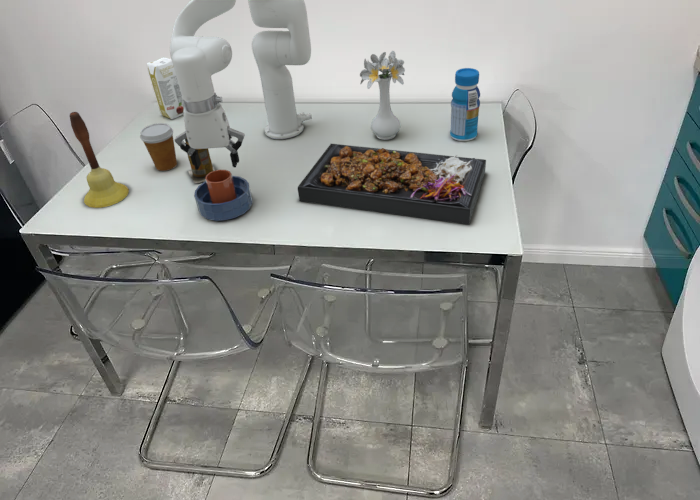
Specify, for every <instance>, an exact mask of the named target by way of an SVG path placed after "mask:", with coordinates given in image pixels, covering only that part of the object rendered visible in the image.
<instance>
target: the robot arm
mask: <svg viewBox="0 0 700 500" xmlns="http://www.w3.org/2000/svg"><path fill="white" fill-rule="evenodd" d="M236 2H237V0H189V1H188V3H187V4H185V6H184V7H183V8H182V9H181V10H180V11H179V13H178V15H177V16H176V18H175V20H174V23H173V26H172V28H173V29H172V32H171V36H170V42H169V43H170V44H169V55H170V59H172V62H173V66H174V70H175V73H176V77H177V81H178V84H179V88H180V91H181V95H182V98H183V102H184V106H185V108H184V114H183V122H184V129H185V131H183V132H182V133H180V134H178V135H177V136H175V138H174V143H175V144H177V146H178V147H179V148H180V150H182V151H183V152H185V153H186V155H187V154H188V155H189V156H190V158H191V161H192V164H193V165H194V166H195V169H196V170H198V169H199V167H200V165H201V162H200V158H199V154H198V151H197V150H195V149H207V148H208V149H221V148H222V149H223V148H225V149H227V150H228V151H229V152H230V153H229V157H230V161H231V165H232V168H234V169H235V168H237V166H238V164H239V163H240V156H239V153H238V150H239V149H240V148H241V147H242V145H243V142H244V139H245V136H246V134H245V133H244V132H242V131H239V130H237V129H235V128H232V127H231V125H230V122H229V120H228V117H227V114H226V112H225V110H224V107H223V105H222V104H221V103H223V97H222V96H219V95H217V92H215V88H214V83H213V80H212V76H213V75H215V74H217V73H220V72H221V71H223V70H226V68H227V67H229V65H230V63H231V61H232V58H233V49H232V46H231V44H230V43H229V41H227V40H226V39H225V38H223V37H219V36H203V35H202V36H200V35H198V36H197V35H195V34H196V33H197V31H198V30H200V28H201V27H202V26H204V24H206V23H208V22H209V21H211V20H213V19H215V18H217V17H220V16H221V15H223V14H225V13H227V12H229V11H231V9H233V8H234V7H235V5H236ZM247 2H248V9H249V13H250V16H251V20H252V22H253V24H254V25H255V26H256V27H259V28H263V29H287V30H263V31H258V33H256V34H254V36H253V38H252V40H251V50H252V55H253V59H254V60H255V63H256V66H257V69H258V73H259V78H260V83H261V84H260V85H261V89H262V95H263V101H264V107H265V112H266V118H267V123H268V124H267V125H266V126H265V127H264V133H265V136H267V137H268V138H269V139H273V140H274V139H275V140H284V139H285V140H286V139H290V138H291V139H292V138H294V137H296V136H298V135H300V134H301V133H302V132H303V131H304V122H306V121H310V120H312V119H313V118H312V117H313V116H312V114H311V113H306V114H305V112H301V113H298V112H297V106H296V99H295V98H296V97H295V92H294V91H295V90H294V84H293V77H292V73H291V71H290V70H289V69H288V67H287V66H305V65H306V64H308V63H309V62H310V60H311V56H312V44H311V34H310V26H309V19H308V11H307V6H306V3H305V0H247ZM233 137H234V138H236V139H237V140H236V142H235V141H233V139H232V138H233ZM186 138H187V139H188V143H189V145H190V146H189V145H188V144H186V141H185V139H186ZM184 141H185V142H184ZM188 155H187V156H188Z"/></svg>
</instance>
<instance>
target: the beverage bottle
mask: <svg viewBox="0 0 700 500" xmlns="http://www.w3.org/2000/svg"><path fill="white" fill-rule="evenodd" d="M479 81H480V71H479V70H478V69H477V68H471V67H463V68H459V69H456V71H455V75H454V83H455V86H454V88H453V90H452V92H451V101H450V109H451V110H450V130H449V135H450V137H451V138H452V139H453V140H455V141H459V142H469V141H472V140H475V139H476V138H477V136H478V127H479V116H480V107H481V100H480V98H481V90H480V88H479V86H478V84H479V83H480V82H479Z"/></svg>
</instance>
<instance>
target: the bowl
mask: <svg viewBox="0 0 700 500" xmlns="http://www.w3.org/2000/svg"><path fill="white" fill-rule="evenodd" d="M232 178H233V182H234V186H235V191H236V195H237V198H236V199H234V200H232V201H229V202H224V203H215V204H212V202H211V199H210V195H209V191H208V187H207V184H206V181H204V182H201V183H200V184H199V185H198V186H196V188H195V190H194V195H193V196H194V200H195V203H196V207H197V210H198V213H199V214H200V217H202V218H204V219H206V220H210V221H214V222H215V221H217V222H218V221H227V220H232V219H235V218H238V217H240V216H242V215H244V214H245V213H246V212H248V211H249V210H250V209H251V207H252V205H253V196H252V192H251V185H250V182H248V180H247V179H246V178H244V177H241V176H238V175H233V174H232Z"/></svg>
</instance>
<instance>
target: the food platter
mask: <svg viewBox="0 0 700 500" xmlns="http://www.w3.org/2000/svg"><path fill="white" fill-rule="evenodd" d="M486 167H487V159H482V158H475V157H463V156H458V154H455V155H445V154H434V153H424V152H416V151H406V150H397V149H388V148H384V147H381V148H378V147H368V146H359V145H348V144H339V143H330V144H329V145H328V146H327V148H326V149H325V150H324V151H323V153H322V154H321V156H320V157H319V158H318V160H317V161H316V162H315V163H314V165H313V166H312V168H311V169H310V170H309V171H308V173H307V174H306V175H305V177H303V179H302V181H301V182H300V183H299V184H298V186H297V193H298V200H299V202H304V203H311V204H318V205H323V206H324V205H325V206H331V207H339V208H347V209H353V210H354V209H355V210H360V211H367V212H373V213H375V212H376V213H382V214H388V215H395V216H397V215H398V216H403V217H409V218H418V219H424V220H431V221H439V222H447V223H453V224H460V225H470V223H471V220H472V217H473V215H474V211H475V207H476V203H477V201H478V197H479V194H480V191H481V187H482V185H483V182H484V179H485V175H486Z"/></svg>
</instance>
